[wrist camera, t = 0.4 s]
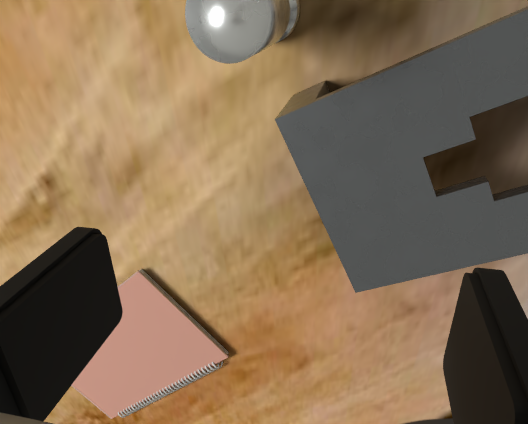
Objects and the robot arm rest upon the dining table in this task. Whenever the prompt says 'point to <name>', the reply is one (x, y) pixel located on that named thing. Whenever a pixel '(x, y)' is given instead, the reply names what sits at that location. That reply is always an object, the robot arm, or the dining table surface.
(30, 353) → the robot arm
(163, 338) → the notebook
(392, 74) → the grey windowed bracket
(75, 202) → the dining table surface
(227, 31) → the peg
